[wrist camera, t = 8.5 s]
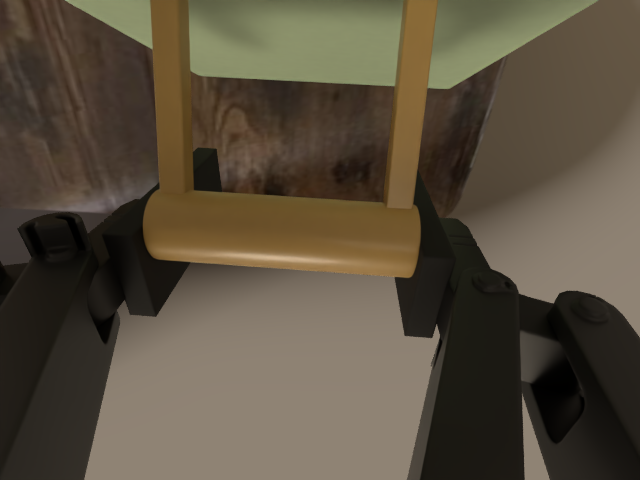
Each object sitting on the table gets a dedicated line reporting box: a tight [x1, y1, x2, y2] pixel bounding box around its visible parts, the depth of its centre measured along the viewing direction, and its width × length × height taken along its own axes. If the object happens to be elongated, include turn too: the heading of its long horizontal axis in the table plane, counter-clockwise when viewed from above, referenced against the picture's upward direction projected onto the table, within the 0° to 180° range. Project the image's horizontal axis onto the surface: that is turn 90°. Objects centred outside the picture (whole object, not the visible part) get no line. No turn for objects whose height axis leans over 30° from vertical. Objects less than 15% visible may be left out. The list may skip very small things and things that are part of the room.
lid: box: [65, 0, 598, 278], centre depth 15 cm, size 17×16×8 cm
